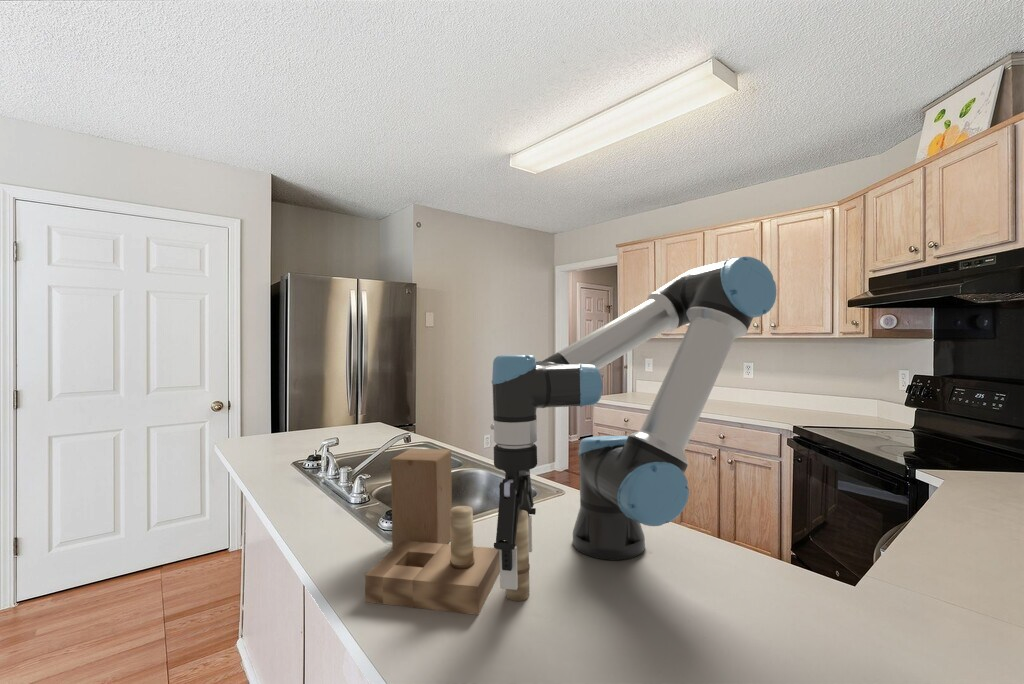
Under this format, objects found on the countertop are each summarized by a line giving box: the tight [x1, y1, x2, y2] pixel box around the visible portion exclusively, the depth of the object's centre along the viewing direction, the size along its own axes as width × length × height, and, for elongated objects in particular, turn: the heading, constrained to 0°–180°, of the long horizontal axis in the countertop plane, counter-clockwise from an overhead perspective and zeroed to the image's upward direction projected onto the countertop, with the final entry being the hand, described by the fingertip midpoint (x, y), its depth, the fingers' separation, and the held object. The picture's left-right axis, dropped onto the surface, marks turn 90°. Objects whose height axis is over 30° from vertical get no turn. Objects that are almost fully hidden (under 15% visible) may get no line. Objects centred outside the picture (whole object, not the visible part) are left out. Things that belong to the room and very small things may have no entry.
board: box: [364, 505, 500, 616], centre depth 82 cm, size 20×14×14 cm
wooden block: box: [390, 448, 453, 551], centre depth 99 cm, size 10×10×20 cm
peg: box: [504, 509, 531, 602], centre depth 79 cm, size 4×4×14 cm
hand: (517, 568), depth 79 cm, fingers open, 12 cm apart
